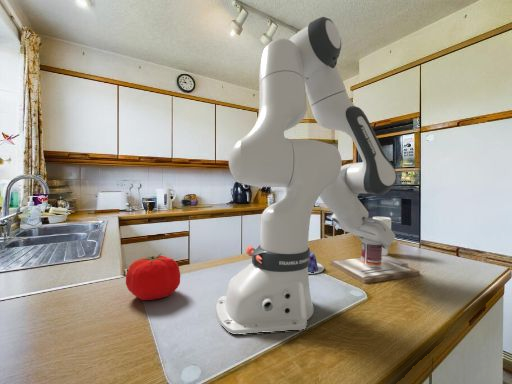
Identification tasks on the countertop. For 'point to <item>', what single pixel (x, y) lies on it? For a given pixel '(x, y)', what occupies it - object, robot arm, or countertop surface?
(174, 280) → the tomato
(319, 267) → the pudding
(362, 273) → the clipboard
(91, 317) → the countertop surface
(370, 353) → the countertop surface
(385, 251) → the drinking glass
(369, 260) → the pill bottle
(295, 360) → the countertop surface
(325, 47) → the robot arm
